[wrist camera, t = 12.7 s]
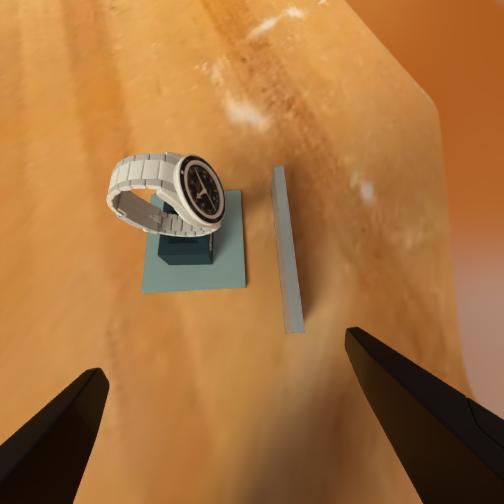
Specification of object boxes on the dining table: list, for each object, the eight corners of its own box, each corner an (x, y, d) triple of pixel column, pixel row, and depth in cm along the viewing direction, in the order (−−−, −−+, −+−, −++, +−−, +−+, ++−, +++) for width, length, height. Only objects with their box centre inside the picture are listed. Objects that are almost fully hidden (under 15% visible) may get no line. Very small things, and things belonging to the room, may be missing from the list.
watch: (231, 264, 24) (217, 208, 13) (151, 265, 23) (72, 210, 13) (232, 214, 25) (219, 131, 15) (157, 215, 25) (92, 132, 15)
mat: (245, 287, 23) (245, 286, 23) (143, 293, 23) (141, 292, 22) (240, 191, 27) (240, 190, 26) (152, 196, 27) (151, 194, 26)
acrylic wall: (296, 332, 22) (304, 332, 18) (286, 333, 22) (292, 333, 18) (279, 186, 27) (283, 165, 24) (270, 186, 27) (273, 166, 24)
